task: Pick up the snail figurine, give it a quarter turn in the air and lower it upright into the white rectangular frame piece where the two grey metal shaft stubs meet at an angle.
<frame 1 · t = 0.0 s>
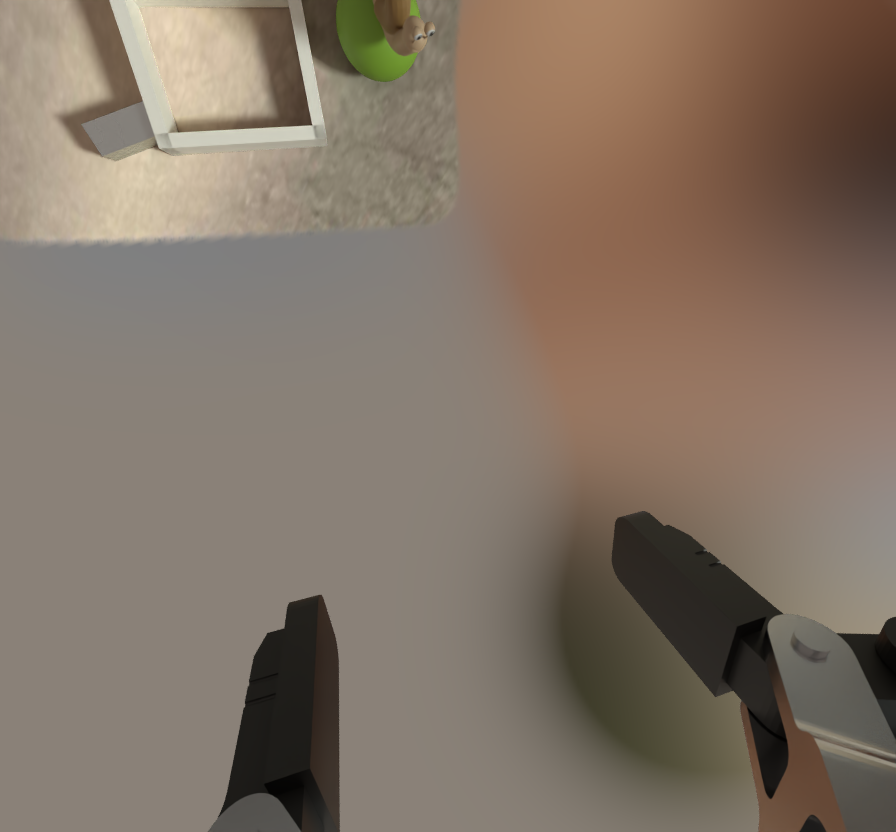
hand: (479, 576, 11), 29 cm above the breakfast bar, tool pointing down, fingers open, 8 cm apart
snail figurine: (378, 55, 29), on the breakfast bar
white rectangular frame piece: (233, 75, 27), on the breakfast bar
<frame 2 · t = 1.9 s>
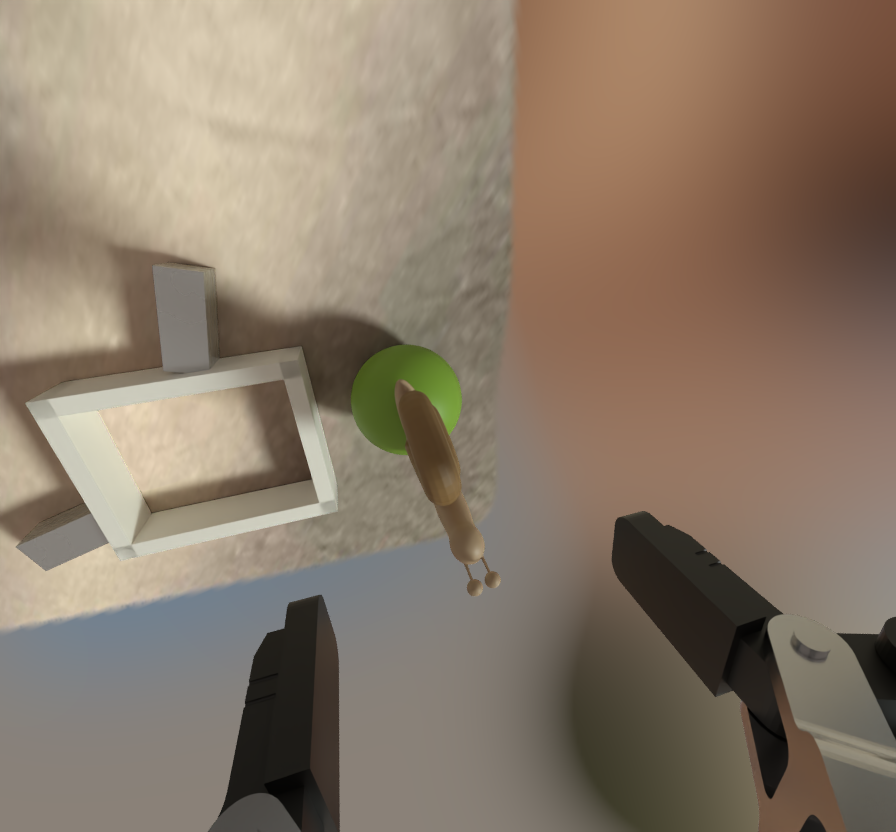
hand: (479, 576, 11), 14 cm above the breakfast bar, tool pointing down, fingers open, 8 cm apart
snail figurine: (401, 388, 23), on the breakfast bar
white rectangular frame piece: (218, 440, 21), on the breakfast bar
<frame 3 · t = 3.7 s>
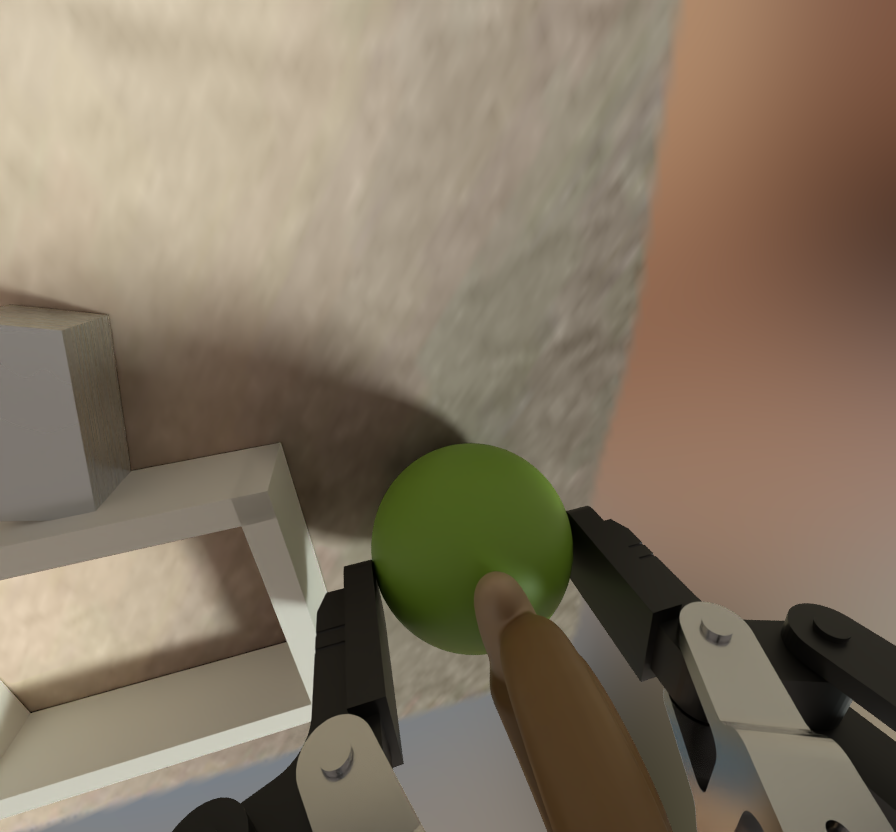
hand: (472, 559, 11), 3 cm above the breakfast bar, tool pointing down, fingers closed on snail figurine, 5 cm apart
snail figurine: (450, 495, 14), on the breakfast bar, touching gripper
white rectangular frame piece: (138, 599, 12), on the breakfast bar
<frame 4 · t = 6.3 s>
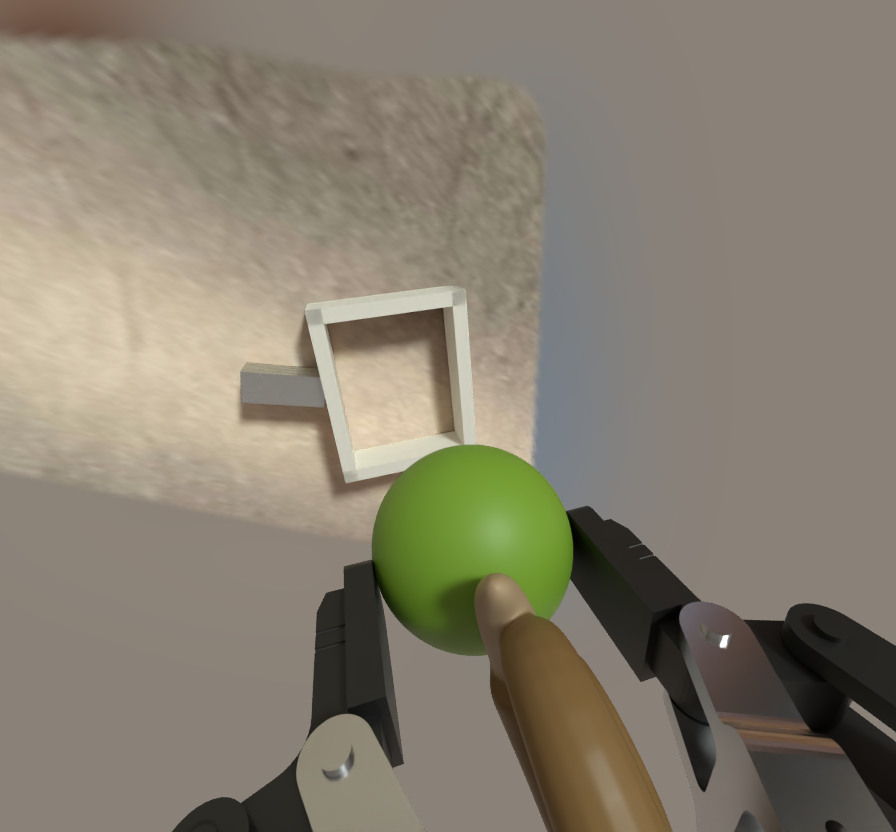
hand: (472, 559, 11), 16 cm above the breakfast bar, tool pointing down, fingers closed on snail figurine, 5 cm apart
snail figurine: (450, 496, 14), point 13 cm above the breakfast bar, touching gripper
white rectangular frame piece: (396, 379, 26), on the breakfast bar
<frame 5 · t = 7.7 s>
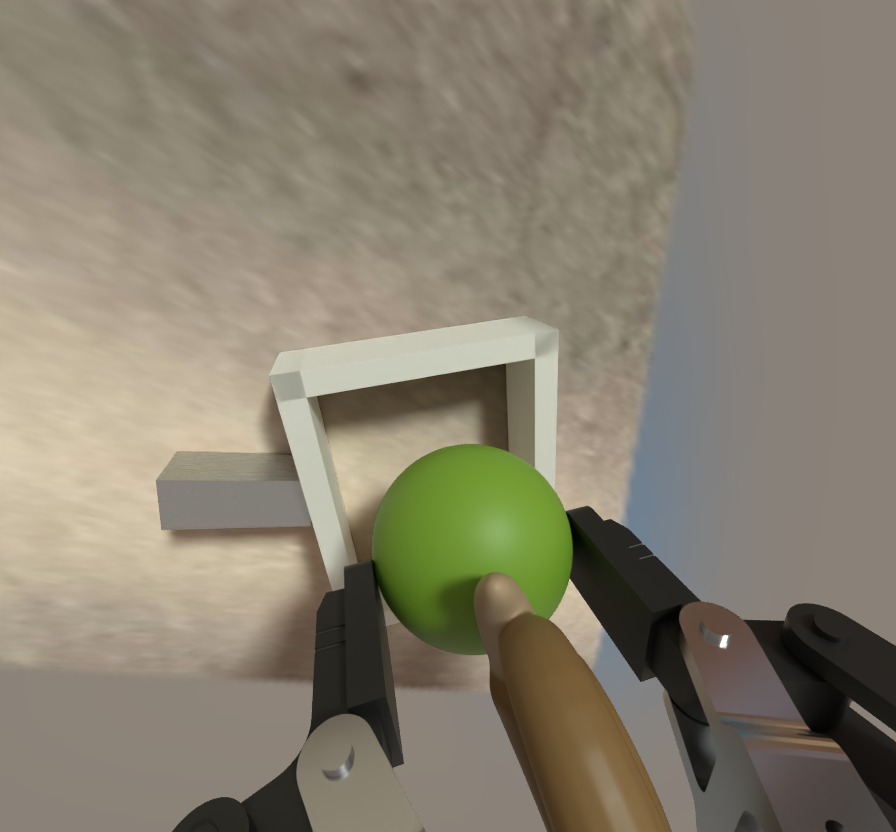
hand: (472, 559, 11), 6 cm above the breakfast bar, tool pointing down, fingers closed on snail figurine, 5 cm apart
snail figurine: (450, 495, 14), point 2 cm above the breakfast bar, touching gripper
white rectangular frame piece: (426, 463, 16), on the breakfast bar
when the fingers open (4 cm above the breakfast bar, at t = 8.8 s): snail figurine drops 1 cm, resting in white rectangular frame piece.
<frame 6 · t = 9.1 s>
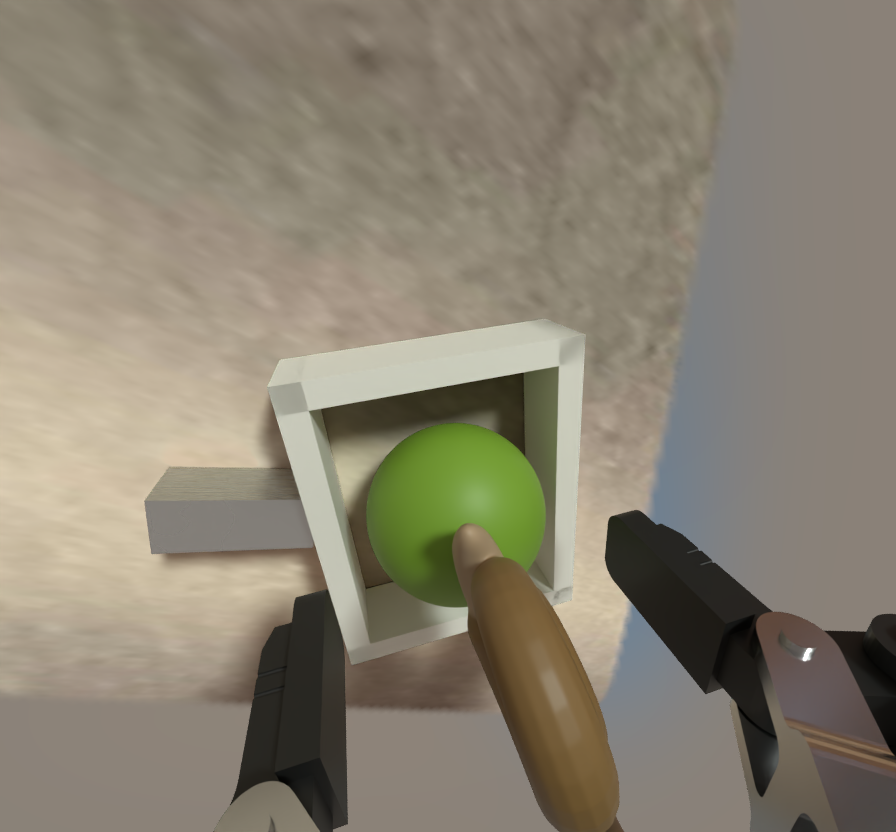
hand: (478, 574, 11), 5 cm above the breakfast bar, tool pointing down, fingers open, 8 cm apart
snail figurine: (439, 474, 15), resting in white rectangular frame piece
white rectangular frame piece: (437, 477, 15), on the breakfast bar
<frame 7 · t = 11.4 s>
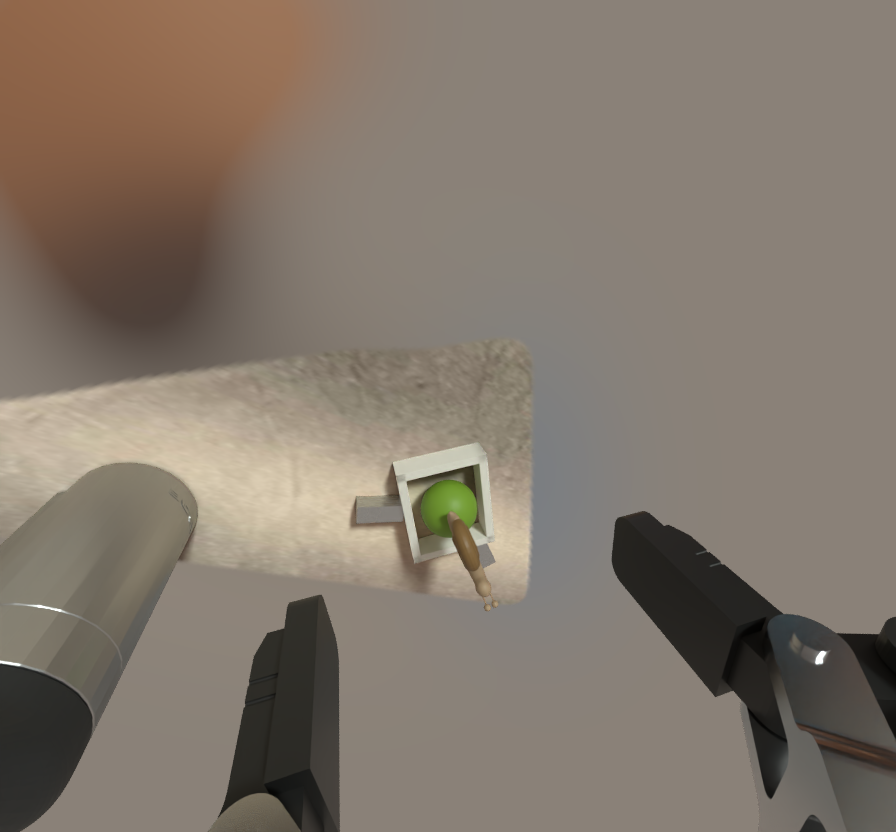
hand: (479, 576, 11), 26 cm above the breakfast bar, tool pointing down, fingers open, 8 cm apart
snail figurine: (443, 495, 42), resting in white rectangular frame piece
white rectangular frame piece: (443, 496, 41), on the breakfast bar
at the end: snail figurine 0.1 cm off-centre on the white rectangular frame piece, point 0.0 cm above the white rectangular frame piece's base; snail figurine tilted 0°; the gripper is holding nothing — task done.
